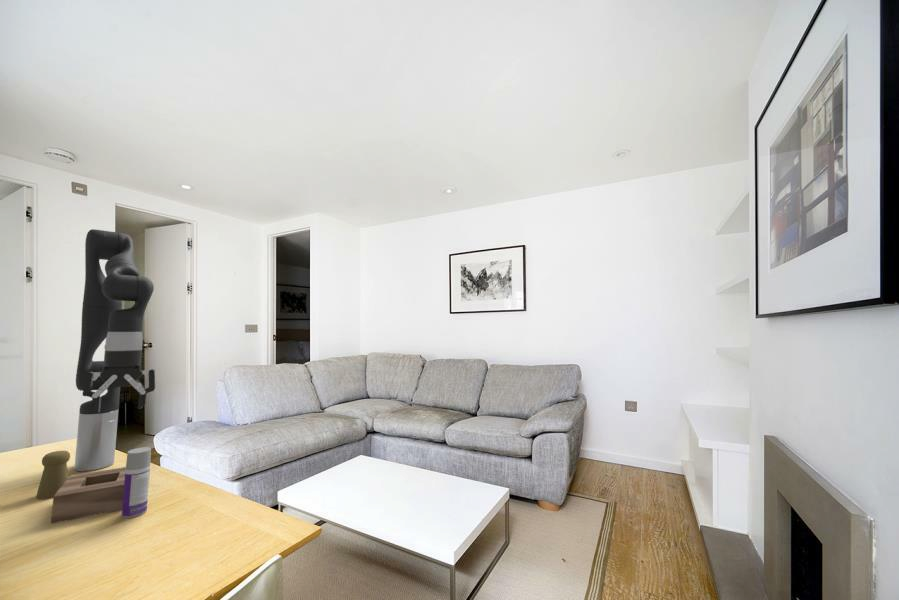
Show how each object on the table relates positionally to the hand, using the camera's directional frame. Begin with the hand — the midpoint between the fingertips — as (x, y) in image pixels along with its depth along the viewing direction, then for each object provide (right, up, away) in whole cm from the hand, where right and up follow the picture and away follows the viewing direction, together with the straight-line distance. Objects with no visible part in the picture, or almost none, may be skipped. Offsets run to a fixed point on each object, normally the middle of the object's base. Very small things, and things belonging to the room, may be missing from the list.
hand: (119, 410), depth 98 cm
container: (+11, -23, -8) cm, 27 cm away
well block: (-2, -23, -4) cm, 23 cm away
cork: (-18, -23, 0) cm, 29 cm away
